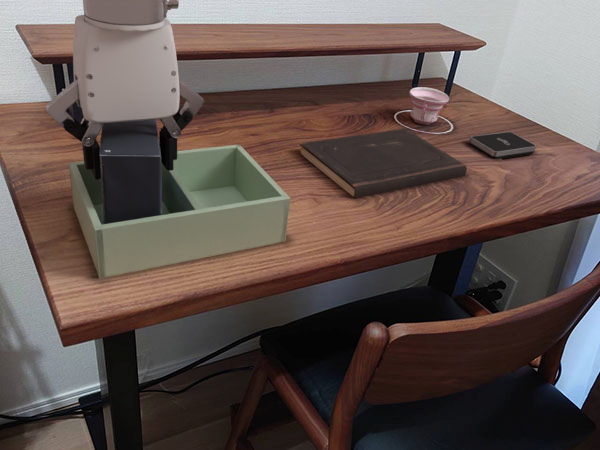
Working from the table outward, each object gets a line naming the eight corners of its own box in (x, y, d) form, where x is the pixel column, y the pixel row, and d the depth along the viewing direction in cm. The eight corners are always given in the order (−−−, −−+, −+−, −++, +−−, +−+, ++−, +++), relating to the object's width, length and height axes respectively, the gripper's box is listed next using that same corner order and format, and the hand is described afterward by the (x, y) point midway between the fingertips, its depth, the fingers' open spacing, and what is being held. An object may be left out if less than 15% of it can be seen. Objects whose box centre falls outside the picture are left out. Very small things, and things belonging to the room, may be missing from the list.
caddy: (99, 282, 59) (94, 229, 56) (73, 210, 71) (68, 162, 67) (284, 244, 70) (290, 198, 66) (236, 186, 81) (239, 144, 77)
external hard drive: (534, 155, 104) (537, 146, 103) (491, 162, 99) (495, 152, 98) (507, 140, 109) (510, 131, 108) (465, 146, 104) (468, 136, 103)
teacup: (398, 108, 118) (404, 80, 115) (454, 121, 116) (462, 92, 112) (388, 127, 108) (395, 96, 105) (450, 141, 106) (458, 110, 102)
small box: (164, 239, 63) (163, 155, 57) (103, 241, 61) (96, 155, 55) (159, 192, 71) (158, 116, 66) (106, 194, 69) (100, 115, 64)
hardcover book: (298, 155, 92) (299, 143, 91) (403, 140, 103) (405, 128, 102) (353, 202, 81) (356, 188, 80) (464, 178, 92) (468, 166, 91)
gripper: (197, -1, 60) (194, 148, 70) (20, -5, 52) (44, 163, 62) (223, 16, 55) (216, 175, 64) (30, 14, 47) (55, 196, 56)
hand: (132, 168), depth 63 cm, fingers closed on small box, 7 cm apart
